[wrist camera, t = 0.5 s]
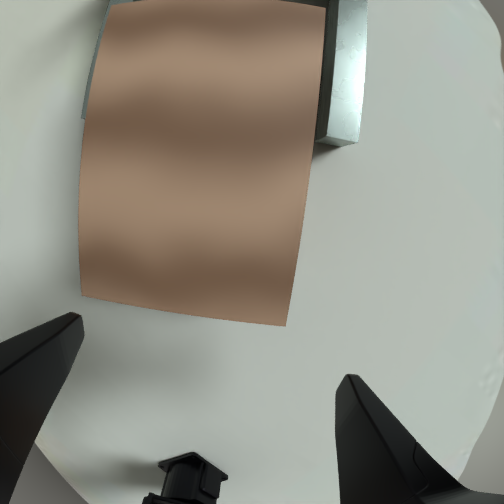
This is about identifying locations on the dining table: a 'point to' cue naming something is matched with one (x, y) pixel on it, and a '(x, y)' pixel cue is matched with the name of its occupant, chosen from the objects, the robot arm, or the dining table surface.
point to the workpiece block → (200, 156)
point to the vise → (334, 72)
